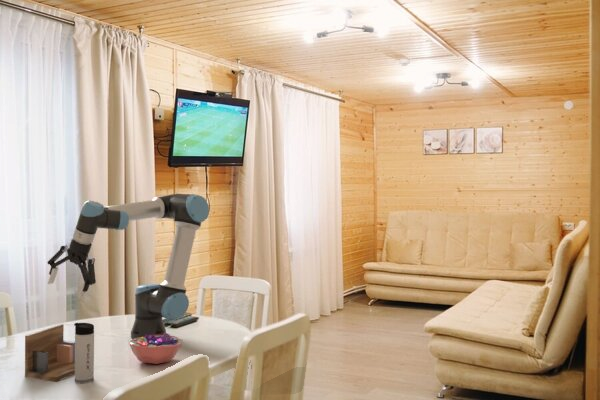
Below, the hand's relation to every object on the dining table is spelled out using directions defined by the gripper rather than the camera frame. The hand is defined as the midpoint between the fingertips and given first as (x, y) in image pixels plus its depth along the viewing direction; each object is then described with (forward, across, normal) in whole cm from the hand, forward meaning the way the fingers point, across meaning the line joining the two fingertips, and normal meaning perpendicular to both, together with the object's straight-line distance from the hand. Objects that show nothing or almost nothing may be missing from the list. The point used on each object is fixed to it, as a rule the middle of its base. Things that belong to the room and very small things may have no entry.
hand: (65, 290), depth 237 cm
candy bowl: (+12, +42, +5) cm, 44 cm away
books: (+21, +14, -8) cm, 26 cm away
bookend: (+21, +12, -22) cm, 33 cm away
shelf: (+21, +16, -16) cm, 31 cm away
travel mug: (+16, +29, -21) cm, 39 cm away
